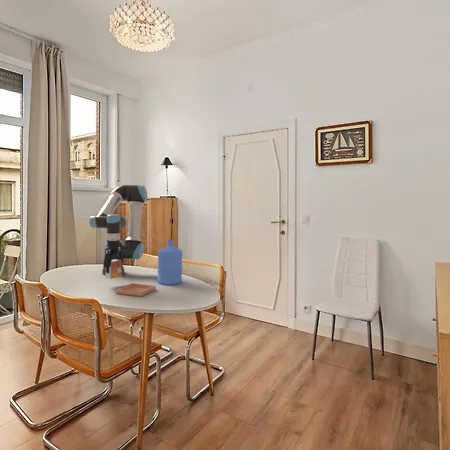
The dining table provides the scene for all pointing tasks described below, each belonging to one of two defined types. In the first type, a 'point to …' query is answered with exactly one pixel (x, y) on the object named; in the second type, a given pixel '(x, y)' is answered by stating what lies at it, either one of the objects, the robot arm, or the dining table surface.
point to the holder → (136, 289)
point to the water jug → (169, 265)
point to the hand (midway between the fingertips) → (113, 276)
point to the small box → (116, 268)
